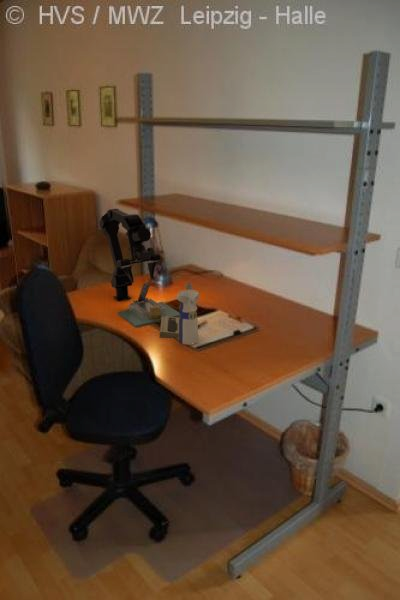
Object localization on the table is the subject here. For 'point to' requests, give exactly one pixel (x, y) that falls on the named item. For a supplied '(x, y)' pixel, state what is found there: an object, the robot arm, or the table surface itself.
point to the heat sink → (147, 310)
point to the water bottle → (188, 315)
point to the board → (138, 322)
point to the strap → (143, 292)
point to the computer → (169, 327)
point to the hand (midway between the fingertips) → (142, 280)
